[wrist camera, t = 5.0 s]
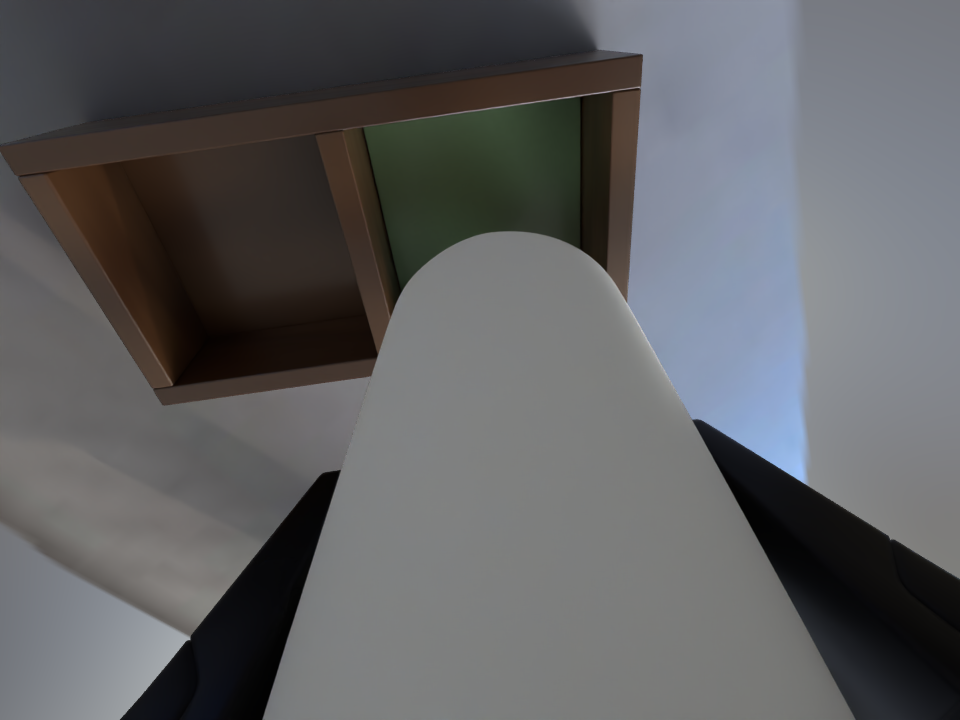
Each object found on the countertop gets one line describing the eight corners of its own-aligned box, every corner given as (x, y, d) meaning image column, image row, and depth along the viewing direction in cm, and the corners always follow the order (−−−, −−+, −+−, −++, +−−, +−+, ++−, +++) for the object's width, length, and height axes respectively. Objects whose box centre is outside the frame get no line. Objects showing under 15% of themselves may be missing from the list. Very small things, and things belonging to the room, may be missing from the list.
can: (577, 176, 11) (1498, 1507, 1) (652, 380, 14) (1056, 1183, 4) (343, 291, 13) (-170, 1248, 3) (459, 451, 16) (424, 1153, 6)
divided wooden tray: (595, 292, 21) (624, 340, 18) (204, 348, 21) (162, 406, 18) (600, 49, 16) (643, 53, 13) (84, 122, 16) (-6, 145, 13)
